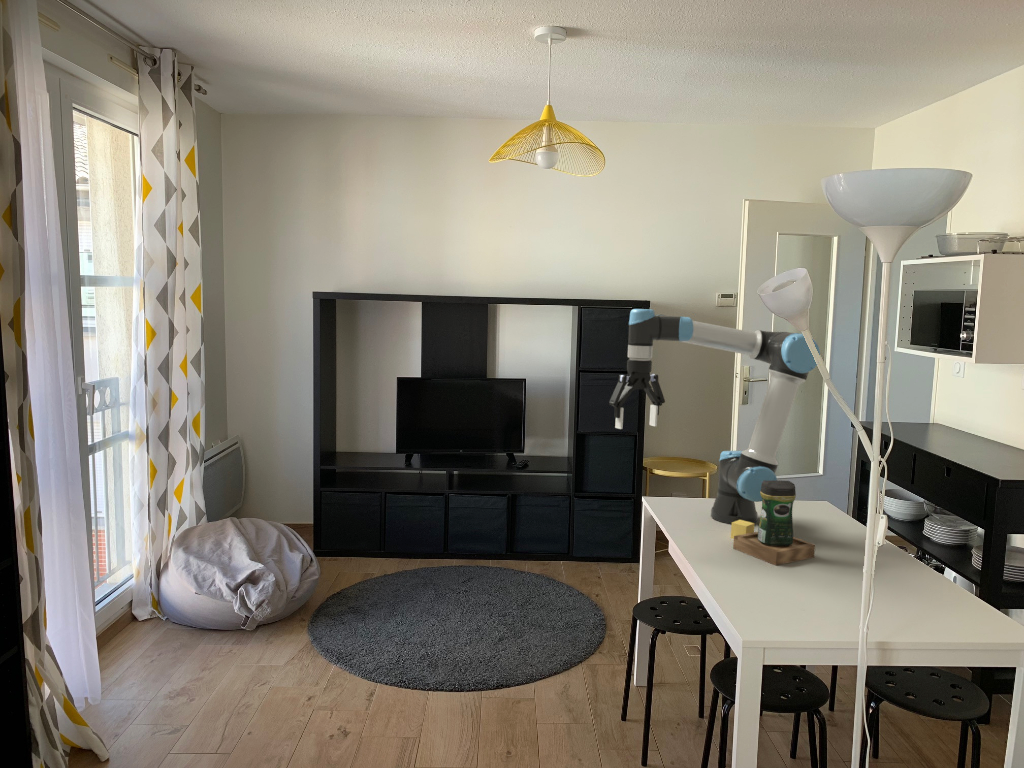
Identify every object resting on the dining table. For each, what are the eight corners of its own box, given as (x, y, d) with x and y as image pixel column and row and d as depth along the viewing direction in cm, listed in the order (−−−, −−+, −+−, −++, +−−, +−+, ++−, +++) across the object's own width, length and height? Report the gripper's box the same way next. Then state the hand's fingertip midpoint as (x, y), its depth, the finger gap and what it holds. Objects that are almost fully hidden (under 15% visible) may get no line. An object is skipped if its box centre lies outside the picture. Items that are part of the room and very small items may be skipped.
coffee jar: (785, 538, 235) (789, 477, 233) (796, 547, 227) (801, 484, 225) (753, 538, 234) (757, 477, 232) (763, 547, 227) (767, 483, 224)
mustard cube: (738, 535, 248) (739, 519, 247) (753, 539, 244) (754, 523, 243) (730, 538, 244) (731, 522, 244) (745, 542, 241) (746, 526, 240)
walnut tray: (770, 541, 242) (771, 529, 242) (814, 557, 228) (815, 544, 228) (733, 548, 234) (734, 535, 233) (775, 565, 220) (776, 552, 220)
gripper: (662, 357, 253) (659, 422, 255) (599, 358, 240) (596, 427, 243) (678, 359, 247) (674, 426, 249) (614, 360, 234) (611, 431, 236)
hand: (636, 427), depth 246 cm, fingers open, 13 cm apart
